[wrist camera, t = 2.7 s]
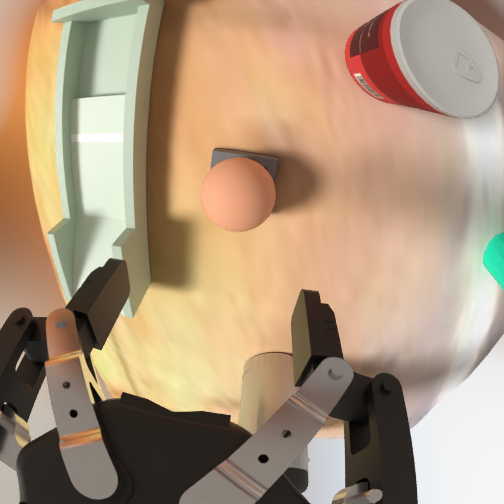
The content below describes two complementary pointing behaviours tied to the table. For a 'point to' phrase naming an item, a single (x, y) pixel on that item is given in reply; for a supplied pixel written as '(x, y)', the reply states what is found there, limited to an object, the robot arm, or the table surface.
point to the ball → (238, 194)
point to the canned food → (425, 59)
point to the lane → (104, 139)
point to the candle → (495, 258)
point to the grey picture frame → (263, 160)
